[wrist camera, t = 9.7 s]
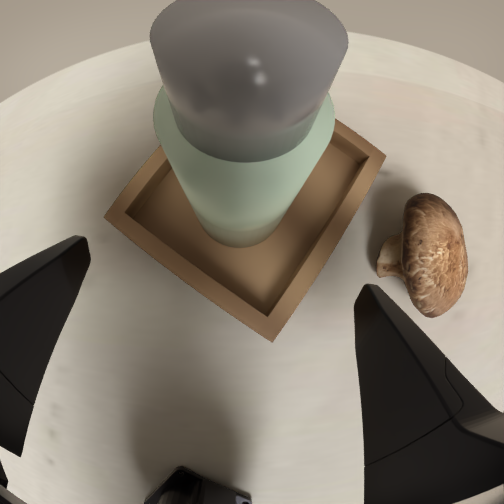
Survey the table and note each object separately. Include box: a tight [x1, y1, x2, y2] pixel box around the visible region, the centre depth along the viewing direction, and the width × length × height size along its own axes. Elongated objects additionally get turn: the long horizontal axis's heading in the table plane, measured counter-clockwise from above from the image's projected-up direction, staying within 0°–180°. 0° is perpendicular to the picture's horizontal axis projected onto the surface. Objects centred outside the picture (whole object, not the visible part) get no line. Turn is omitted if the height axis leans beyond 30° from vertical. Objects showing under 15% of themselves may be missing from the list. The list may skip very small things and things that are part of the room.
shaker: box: [150, 0, 348, 248], centre depth 10 cm, size 5×5×13 cm
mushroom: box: [376, 193, 468, 318], centre depth 16 cm, size 8×8×6 cm
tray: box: [104, 119, 386, 342], centre depth 17 cm, size 14×12×2 cm
